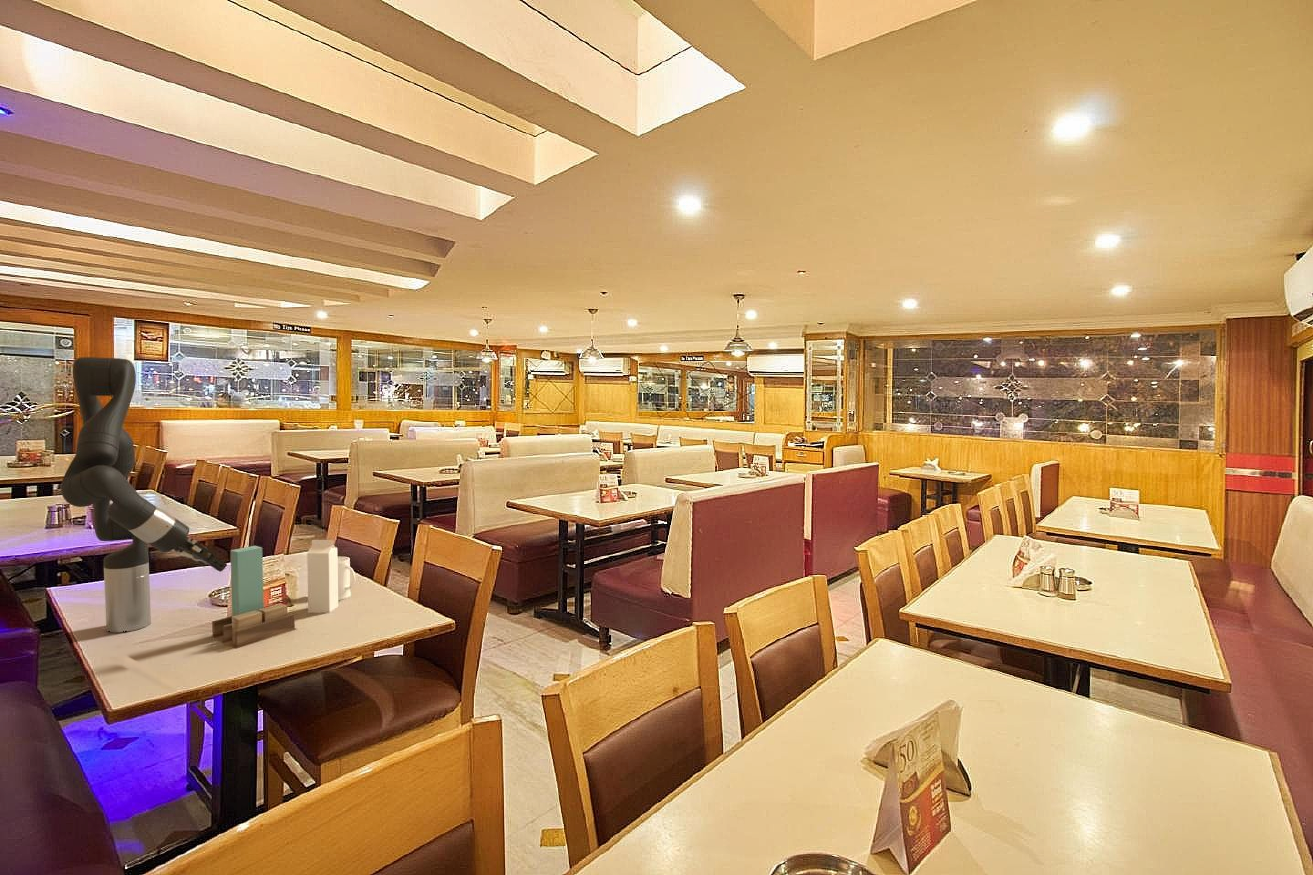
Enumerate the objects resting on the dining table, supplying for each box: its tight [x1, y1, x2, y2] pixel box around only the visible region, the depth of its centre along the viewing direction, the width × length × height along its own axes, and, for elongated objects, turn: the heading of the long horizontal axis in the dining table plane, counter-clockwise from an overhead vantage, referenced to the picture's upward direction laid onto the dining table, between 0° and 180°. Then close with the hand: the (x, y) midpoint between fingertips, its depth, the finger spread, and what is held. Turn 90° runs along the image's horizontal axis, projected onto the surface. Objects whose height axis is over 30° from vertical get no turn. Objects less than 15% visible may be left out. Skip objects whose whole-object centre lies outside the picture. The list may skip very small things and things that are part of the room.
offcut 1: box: [232, 610, 262, 643], centre depth 156 cm, size 3×6×6 cm, turn 150°
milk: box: [306, 539, 339, 614], centre depth 179 cm, size 6×6×22 cm
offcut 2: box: [259, 603, 288, 623], centre depth 162 cm, size 3×6×6 cm, turn 150°
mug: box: [338, 556, 357, 601], centre depth 193 cm, size 12×8×12 cm
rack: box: [210, 605, 298, 650], centre depth 161 cm, size 13×15×6 cm
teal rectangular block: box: [229, 545, 265, 617], centre depth 161 cm, size 4×6×22 cm, turn 150°
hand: (215, 565), depth 154 cm, fingers open, 8 cm apart
